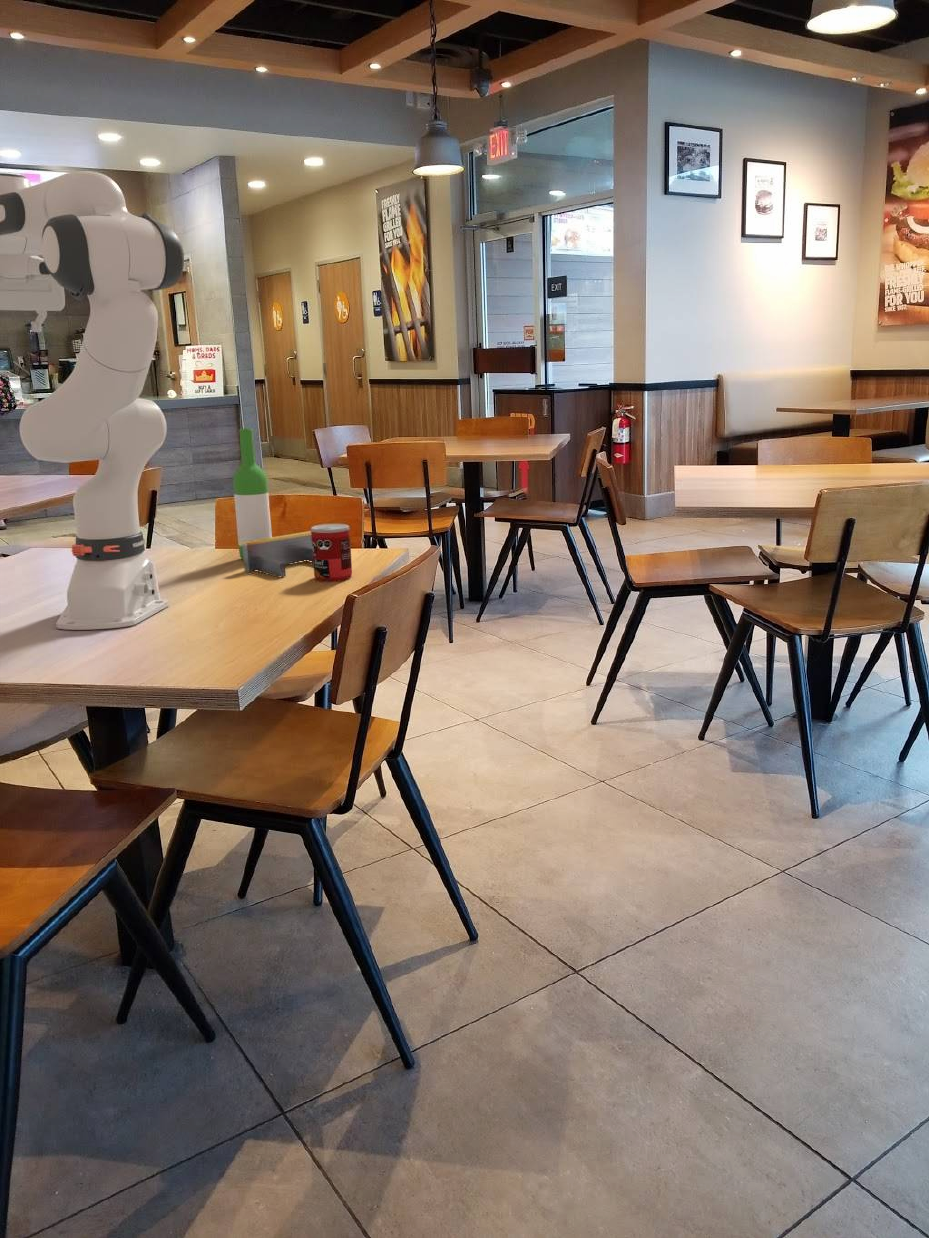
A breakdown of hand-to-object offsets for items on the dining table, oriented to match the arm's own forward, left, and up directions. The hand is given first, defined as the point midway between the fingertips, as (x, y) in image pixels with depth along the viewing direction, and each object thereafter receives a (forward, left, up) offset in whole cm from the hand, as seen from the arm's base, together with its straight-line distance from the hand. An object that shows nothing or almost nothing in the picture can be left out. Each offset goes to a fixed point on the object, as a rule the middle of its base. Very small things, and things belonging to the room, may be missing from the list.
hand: (12, 331), depth 194 cm
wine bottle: (+15, -43, -52) cm, 69 cm away
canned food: (-9, -63, -52) cm, 82 cm away
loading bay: (+3, -53, -52) cm, 74 cm away
